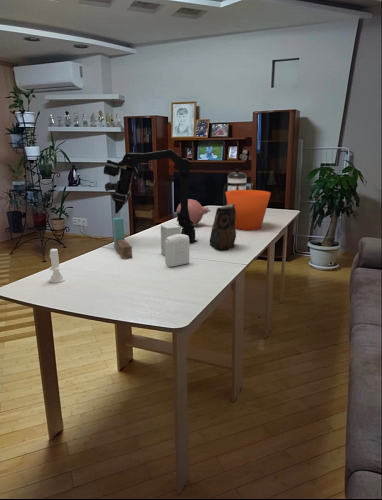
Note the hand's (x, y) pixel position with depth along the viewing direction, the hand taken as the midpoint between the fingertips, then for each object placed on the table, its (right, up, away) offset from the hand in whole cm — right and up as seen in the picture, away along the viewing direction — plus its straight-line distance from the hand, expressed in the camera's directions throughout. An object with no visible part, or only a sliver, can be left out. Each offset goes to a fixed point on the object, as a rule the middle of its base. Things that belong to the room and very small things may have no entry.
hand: (117, 211), depth 184 cm
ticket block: (+6, -20, -16) cm, 26 cm away
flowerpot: (+67, -6, +35) cm, 75 cm away
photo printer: (+30, -24, -29) cm, 48 cm away
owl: (+49, -17, -4) cm, 52 cm away
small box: (+26, -21, -17) cm, 38 cm away
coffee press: (+65, +6, +74) cm, 99 cm away
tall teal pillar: (+2, -18, -7) cm, 19 cm away
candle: (-13, -30, -46) cm, 56 cm away
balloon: (+37, -5, +39) cm, 54 cm away
